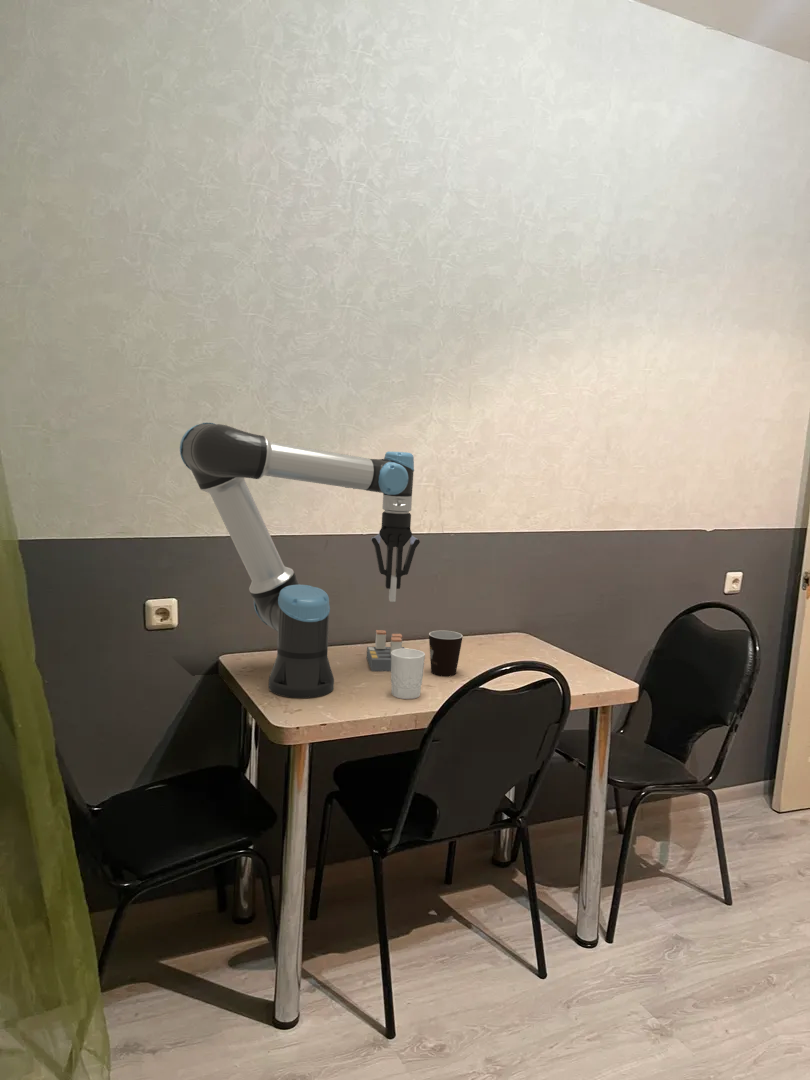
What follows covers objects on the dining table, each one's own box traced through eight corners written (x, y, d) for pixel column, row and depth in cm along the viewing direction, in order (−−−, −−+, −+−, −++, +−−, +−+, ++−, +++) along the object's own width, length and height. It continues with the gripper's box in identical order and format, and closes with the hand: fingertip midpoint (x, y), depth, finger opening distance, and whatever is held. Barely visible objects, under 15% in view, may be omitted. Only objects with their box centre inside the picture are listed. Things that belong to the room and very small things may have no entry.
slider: (376, 649, 213) (376, 632, 212) (375, 646, 215) (375, 630, 215) (385, 649, 213) (386, 632, 213) (384, 646, 216) (385, 630, 215)
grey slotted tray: (371, 671, 205) (372, 658, 205) (366, 657, 217) (367, 645, 216) (410, 671, 207) (411, 659, 206) (403, 657, 218) (404, 646, 218)
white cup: (410, 687, 194) (412, 646, 193) (429, 697, 188) (431, 655, 186) (382, 691, 190) (384, 650, 188) (400, 702, 183) (402, 659, 182)
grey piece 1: (391, 656, 207) (392, 639, 206) (389, 654, 209) (390, 637, 208) (400, 657, 207) (401, 639, 206) (399, 654, 209) (400, 637, 209)
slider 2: (392, 653, 210) (392, 636, 209) (390, 650, 213) (391, 633, 212) (401, 653, 211) (402, 636, 210) (400, 650, 213) (401, 633, 212)
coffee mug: (457, 679, 202) (460, 640, 200) (423, 675, 204) (426, 637, 202) (463, 666, 213) (466, 629, 212) (431, 663, 215) (433, 626, 213)
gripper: (373, 512, 205) (369, 603, 208) (424, 514, 207) (418, 604, 210) (370, 509, 212) (365, 597, 216) (419, 510, 214) (414, 598, 218)
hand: (392, 600), depth 213 cm, fingers closed
